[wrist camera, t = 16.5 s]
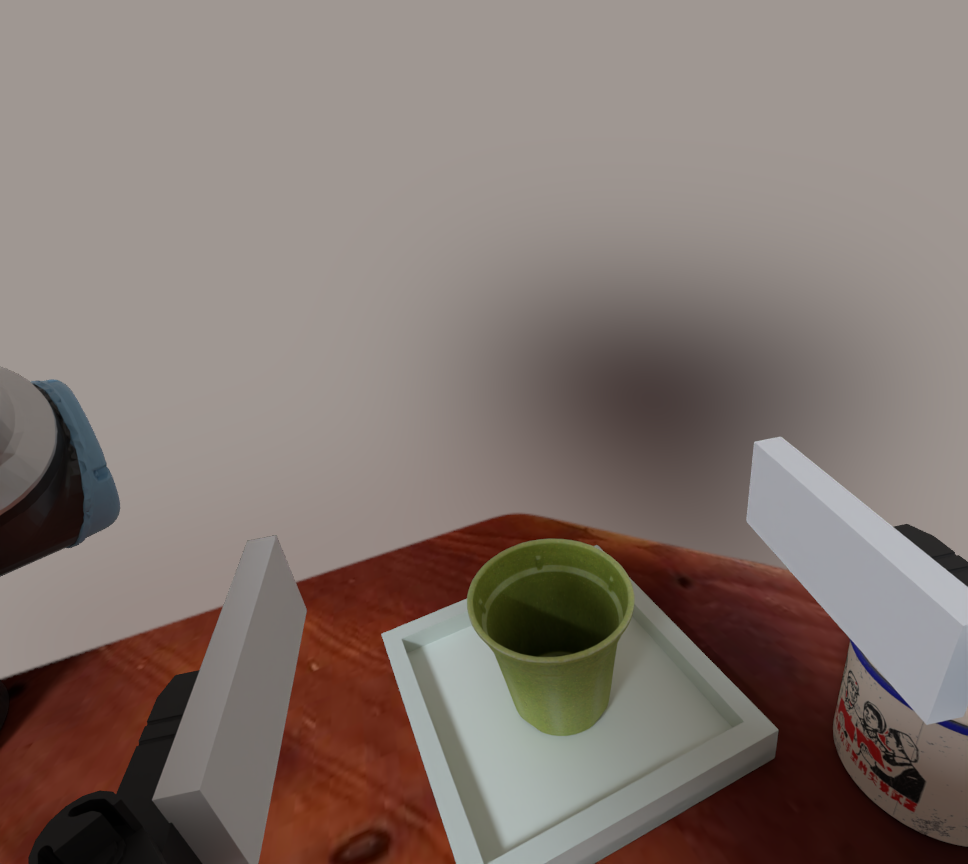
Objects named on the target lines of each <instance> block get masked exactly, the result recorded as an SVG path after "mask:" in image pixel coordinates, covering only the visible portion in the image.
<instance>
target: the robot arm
mask: <svg viewBox="0 0 968 864" xmlns="http://www.w3.org/2000/svg"><path fill="white" fill-rule="evenodd" d="M119 511H120V501H119V496H118V492H117V489H116V486H115V483H114V480H113V478H112V475H111V473H110V471H109V469H108V468H107V467H106V461H105V458H104V454H103V452H102V449H101V447H100V445H99V443H98V440H97V438H96V436H95V434H94V431H93V429H92V427H91V425H90V423H89V421H88V419H87V417H86V415H85V413H84V411H83V410H82V408H81V406H80V404H79V402H78V400H77V399H76V397H75V395H74V394H73V392H72V391H71V390H70V388H69V387H67V385H66V384H64V383H62V382H60V381H58V380H46V381H32V382H30V381H28V380H27V379H25V378H24V377H22V376H21V375H19V374H17V373H15V372H13V371H10V370H8V369H6V368H3V367H0V576H3V575H5V574H7V573H9V572H12V571H14V570H16V569H18V568H21V567H23V566H25V565H27V564H30V563H32V562H34V561H36V560H39V559H41V558H43V557H46V556H48V555H50V554H52V553H55V552H57V551H59V550H61V549H63V548H72V547H74V546H77V545H79V543H82V542H83V541H84V540H85V538H87V537H89V536H91V535H93V534H95V533H97V532H99V531H101V530H103V529H105V528H107V527H109V526H110V525H111V524H113V523H114V521H115V520H116V519H117V517H118V515H119ZM746 521H747V523H748V524H749V525H750V526H751V527H752V528H753V529H754V531H755V532H756V533H757V534H758V535H759V536H760V537H761V539H762V540H763V541H764V542H765V543H766V544H767V545H768V546H769V548H770V549H771V550H772V551H773V552H774V553H775V554H776V555H777V556H778V558H779V559H780V560H781V561H782V562H783V563H784V564H785V565H786V567H787V568H788V569H789V570H790V571H791V572H792V574H793V575H794V576H795V577H796V578H797V579H798V580H799V581H800V583H801V584H802V585H803V586H804V587H805V588H806V589H807V590H808V592H809V593H810V594H811V595H812V596H813V597H814V598H815V599H816V601H817V602H818V603H819V604H820V605H821V606H822V607H823V609H824V610H825V611H826V612H827V613H828V614H829V615H830V616H831V618H832V619H833V620H834V621H835V622H836V623H837V624H838V625H839V627H840V628H841V629H842V630H843V631H844V632H845V633H846V634H847V636H848V637H849V638H850V639H851V640H852V641H853V642H854V644H855V645H856V646H857V647H858V648H859V649H860V650H861V651H862V653H863V654H864V655H865V656H866V657H867V658H868V659H869V660H870V662H871V663H872V664H873V665H874V666H875V667H876V668H877V670H878V671H879V672H880V673H881V674H882V675H883V676H884V677H885V679H886V680H887V681H888V682H889V683H890V684H891V685H892V686H893V688H894V689H895V690H896V691H897V692H898V693H899V694H900V695H901V697H902V698H903V699H904V700H905V701H906V702H907V703H908V705H909V706H910V707H911V708H912V709H913V710H914V711H915V712H916V714H917V715H918V716H919V717H920V718H921V719H922V720H923V721H924V723H925V724H926V725H929V724H933V723H938V722H942V721H946V720H951V719H955V718H960V717H963V716H964V714H965V712H966V709H967V707H968V562H967V561H966V560H964V559H963V558H962V557H960V556H959V555H958V556H956V555H955V552H954V551H953V550H951V549H950V548H948V547H947V546H946V545H945V544H943V543H942V542H941V541H939V540H938V539H937V538H936V537H934V536H932V535H930V534H928V533H926V532H923V531H921V530H919V529H917V528H915V527H913V526H910V525H908V524H905V525H900V526H895V527H893V526H891V525H890V524H889V523H887V522H886V521H885V520H884V519H883V518H881V517H880V516H879V515H878V514H876V513H875V512H874V511H873V510H871V509H870V508H869V507H868V506H866V505H865V504H864V503H863V502H861V501H860V500H859V499H858V498H857V497H855V496H854V495H853V494H852V493H850V492H849V491H848V490H847V489H845V488H844V487H843V486H841V485H840V484H839V483H838V482H836V481H835V480H834V479H833V478H832V477H830V476H829V475H828V474H827V473H825V472H824V471H823V470H822V469H820V468H819V467H818V466H817V465H816V464H814V463H813V462H812V461H811V460H809V459H808V458H807V457H806V456H804V455H803V454H802V453H801V452H799V451H798V450H797V449H796V448H794V447H793V446H792V445H791V444H789V443H788V442H787V441H786V440H785V439H783V438H782V437H777V438H771V439H766V440H761V441H756V442H754V450H753V459H752V470H751V480H750V490H749V499H748V509H747V519H746ZM306 611H307V609H306V607H305V605H304V602H303V600H302V597H301V595H300V592H299V590H298V587H297V585H296V582H295V580H294V577H293V575H292V572H291V570H290V568H289V565H288V562H287V560H286V557H285V555H284V553H283V550H282V548H281V545H280V543H279V540H278V538H277V536H276V535H274V536H269V537H264V538H259V539H254V540H248V541H247V543H246V546H245V549H244V551H243V554H242V557H241V559H240V562H239V565H238V567H237V570H236V573H235V576H234V579H233V581H232V584H231V586H230V589H229V592H228V595H227V597H226V600H225V603H224V605H223V608H222V611H221V614H220V616H219V619H218V622H217V625H216V627H215V630H214V633H213V635H212V638H211V641H210V644H209V646H208V649H207V652H206V654H205V657H204V660H203V663H202V665H201V668H200V670H199V671H194V672H189V673H184V674H179V675H175V676H174V678H173V679H172V680H171V681H170V683H169V684H168V685H167V686H166V688H165V689H164V690H163V691H162V692H161V694H160V695H159V696H158V697H157V699H156V702H155V704H154V706H153V709H152V711H151V714H150V716H149V718H148V721H147V726H145V728H144V730H143V732H142V735H141V737H140V739H139V746H136V749H135V751H134V754H133V756H132V758H131V761H130V763H129V765H128V768H127V770H126V772H125V775H124V777H123V779H122V782H121V784H120V787H119V789H118V791H117V794H115V793H114V792H109V791H97V792H94V793H91V794H88V795H84V796H82V797H81V798H79V799H77V800H76V801H74V802H72V803H71V804H69V805H67V806H66V807H65V808H64V809H62V810H61V811H60V812H59V813H58V814H57V815H56V816H55V817H54V818H53V819H52V820H50V821H49V823H48V824H47V825H46V827H45V828H44V829H43V831H42V832H41V833H40V835H39V836H38V838H37V839H36V841H35V843H34V846H33V848H32V850H31V853H30V855H29V864H258V862H259V857H260V852H261V847H262V841H263V836H264V831H265V826H266V821H267V815H268V810H269V805H270V800H271V794H272V789H273V784H274V779H275V773H276V768H277V763H278V758H279V753H280V747H281V742H282V737H283V732H284V726H285V721H286V716H287V711H288V705H289V700H290V695H291V690H292V685H293V679H294V674H295V669H296V664H297V658H298V653H299V648H300V643H301V637H302V632H303V627H304V622H305V616H306ZM8 708H9V694H8V690H7V688H6V687H5V685H4V684H3V683H2V682H1V680H0V729H1V727H2V725H3V723H4V721H5V718H6V715H7V712H8Z"/></svg>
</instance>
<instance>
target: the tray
mask: <svg viewBox="0 0 968 864" xmlns="http://www.w3.org/2000/svg"><path fill="white" fill-rule="evenodd" d="M594 547H596V548H597V549H599V550H602V549H601V548H600V547H599V546H598V545H596V546H594ZM602 551H603V550H602ZM603 552H604V551H603ZM629 579H630V578H629ZM630 581H631V583H632V586H633V589H634V595H635V604H634V611H633V615H632V618H631V621H630V623H629V625H628V627H627V628H626V630H625V631H624V633H623V634H622V635H621V637H620V639H619V641H618V643H617V649H616V656H615V662H614V669H613V676H612V685H611V691H610V697H609V702H608V706H607V708H606V709H605V711H604V712H603V714H602V715H601V716H600V718H599V719H598V720H597V721H596V723H595V724H594V725H593V726H592V727H590V728H589V729H587V730H585V731H583V732H581V733H577V734H574V735H569V736H555V735H549V734H546V733H543V732H541V731H539V730H538V729H536V728H535V727H534V726H532V725H531V724H529V723H528V722H527V721H525V720H524V719H523V718H522V717H521V716H520V715H519V713H518V712H517V710H516V707H515V705H514V702H513V700H512V697H511V695H510V692H509V690H508V687H507V684H506V682H505V679H504V677H503V674H502V672H501V669H500V667H499V664H498V662H497V659H496V657H495V654H494V652H493V651H492V650H491V649H490V647H489V646H488V645H487V644H486V643H485V642H484V641H483V640H482V639H481V638H480V637H479V636H478V634H477V633H476V631H475V630H474V628H473V626H472V624H471V621H470V618H469V615H468V610H467V599H465V600H462V601H460V602H458V603H455V604H453V605H450V606H448V607H445V608H443V609H441V610H438V611H436V612H433V613H431V614H429V615H426V616H424V617H421V618H419V619H416V620H414V621H412V622H409V623H407V624H404V625H402V626H399V627H397V628H395V629H392V630H390V631H387V632H385V633H383V634H381V635H382V638H383V641H384V644H385V647H386V650H387V653H388V656H389V659H390V662H391V665H392V668H393V671H394V674H395V678H396V681H397V684H398V687H399V690H400V693H401V696H402V699H403V702H404V705H405V708H406V711H407V714H408V717H409V720H410V723H411V726H412V729H413V733H414V736H415V739H416V742H417V745H418V748H419V751H420V754H421V757H422V760H423V763H424V766H425V769H426V772H427V775H428V778H429V781H430V785H431V788H432V791H433V794H434V797H435V800H436V803H437V806H438V809H439V812H440V815H441V818H442V821H443V824H444V827H445V830H446V833H447V836H448V840H449V843H450V846H451V849H452V852H453V855H454V858H455V861H456V864H595V863H596V862H598V861H600V860H601V859H603V858H605V857H606V856H608V855H610V854H612V853H613V852H615V851H617V850H618V849H620V848H622V847H624V846H625V845H627V844H629V843H630V842H632V841H634V840H636V839H637V838H639V837H641V836H642V835H644V834H646V833H647V832H649V831H651V830H653V829H654V828H656V827H658V826H659V825H661V824H663V823H665V822H666V821H668V820H670V819H671V818H673V817H675V816H677V815H678V814H680V813H682V812H683V811H685V810H687V809H688V808H690V807H692V806H694V805H695V804H697V803H699V802H700V801H702V800H704V799H706V798H707V797H709V796H711V795H712V794H714V793H716V792H718V791H719V790H721V789H723V788H724V787H726V786H728V785H729V784H731V783H733V782H735V781H736V780H738V779H740V778H741V777H743V776H745V775H747V774H748V773H750V772H752V771H753V770H755V769H757V768H759V767H760V766H762V765H764V764H765V763H767V762H769V761H770V760H772V759H774V758H775V753H776V746H777V739H778V731H779V730H778V729H777V728H776V727H775V726H774V724H773V723H772V722H771V721H770V720H769V719H768V718H767V717H766V716H765V715H764V714H763V713H762V712H761V711H760V710H759V709H758V708H757V707H756V706H755V705H754V704H753V703H752V702H751V701H750V700H749V699H748V698H747V697H746V696H745V695H744V694H743V693H742V692H741V691H740V690H739V689H738V688H737V687H736V686H735V685H734V684H733V683H732V682H731V681H730V680H729V679H728V678H727V677H726V676H725V675H724V674H723V672H722V671H721V670H720V669H719V668H718V667H717V666H716V665H715V664H714V663H713V662H712V661H711V660H710V659H709V658H708V657H707V656H706V655H705V654H704V653H703V652H702V651H701V650H700V649H699V648H698V647H697V646H696V645H695V644H694V643H693V642H692V641H691V640H690V639H689V638H688V637H687V636H686V635H685V634H684V633H683V632H682V631H681V630H680V629H679V628H678V627H677V626H676V625H675V624H674V623H673V622H672V620H671V619H670V618H669V617H668V616H667V615H666V614H665V613H664V612H663V611H662V610H661V609H660V608H659V607H658V606H657V605H656V604H655V603H654V602H653V601H652V600H651V599H650V598H649V597H648V596H647V595H646V594H645V593H644V592H643V591H642V590H641V589H640V588H639V587H638V586H637V585H636V584H635V583H634V582H633V581H632V580H631V579H630Z"/></svg>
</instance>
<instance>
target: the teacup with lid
mask: <svg viewBox="0 0 968 864" xmlns="http://www.w3.org/2000/svg"><path fill="white" fill-rule="evenodd" d="M833 736H834V742H835V746H836V749H837V752H838V755H839V757H840V759H841V761H842V763H843V765H844V767H845V768H846V770H847V772H848V773H849V775H850V776H851V777H852V779H853V780H854V782H855V783H856V784H857V785H858V786H859V788H860V789H861V790H862V791H863V792H864V793H865V794H866V795H867V796H868V797H869V798H870V799H871V800H872V801H873V802H874V803H875V804H877V805H878V806H879V807H880V808H882V809H883V810H884V811H885V812H887V813H888V814H889V815H891V816H892V817H894V818H895V819H897V820H898V821H900V822H901V823H903V824H905V825H907V826H908V827H910V828H912V829H914V830H916V831H918V832H920V833H922V834H924V835H927V836H929V837H932V838H934V839H937V840H940V841H943V842H947V843H951V844H955V845H960V846H966V847H968V707H967V709H966V712H965V714H964V716H963V717H960V718H955V719H951V720H946V721H942V722H938V723H933V724H929V725H926V724H925V723H924V721H923V720H922V719H921V718H920V717H919V716H918V715H917V714H916V712H915V711H914V710H913V709H912V708H911V707H910V706H909V705H908V703H907V702H906V701H905V700H904V699H903V698H902V697H901V695H900V694H899V693H898V692H897V691H896V690H895V689H894V688H893V686H892V685H891V684H890V683H889V682H888V681H887V680H886V679H885V677H884V676H883V675H882V674H881V673H880V672H879V671H878V670H877V668H876V667H875V666H874V665H873V664H872V663H871V662H870V660H869V659H868V658H867V657H866V656H865V655H864V654H863V653H862V651H861V650H860V649H859V648H858V647H857V646H856V645H855V644H854V642H853V641H852V640H851V639H850V645H849V649H848V654H847V659H846V664H845V668H844V673H843V678H842V683H841V688H840V692H839V697H838V702H837V707H836V711H835V716H834V722H833Z"/></svg>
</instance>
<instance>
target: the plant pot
mask: <svg viewBox="0 0 968 864" xmlns="http://www.w3.org/2000/svg"><path fill="white" fill-rule="evenodd" d="M634 604H635V595H634V589H633V586H632V583H631V581H630V579H629V576H628V575H627V573H626V571H625V570H624V569H623V567H622V566H621V565H620V564H619V563H618V562H617V561H616V560H614V559H613V558H612V557H611V556H609V555H608V554H607V553H605V552H603V551H602V550H599V549H597V548H596V547H594V546H591V545H588V544H585V543H582V542H578V541H573V540H566V539H540V540H534V541H528V542H525V543H521V544H518V545H516V546H513V547H511V548H508V549H507V550H505V551H502V552H501V553H499V554H498V555H496V556H495V557H493V558H492V559H490V560H489V561H488V562H487V563H486V564H485V565H484V566H483V567H482V568H481V569H480V570H479V571H478V573H477V574H476V575H475V577H474V579H473V581H472V583H471V585H470V588H469V591H468V595H467V610H468V615H469V618H470V621H471V624H472V626H473V628H474V630H475V631H476V633H477V634H478V636H479V637H480V638H481V639H482V640H483V641H484V642H485V643H486V644H487V645H488V646H489V647H490V649H491V650H492V651H493V652H494V654H495V657H496V659H497V662H498V664H499V667H500V669H501V672H502V674H503V677H504V679H505V682H506V684H507V687H508V690H509V692H510V695H511V697H512V700H513V702H514V705H515V707H516V710H517V712H518V713H519V715H520V716H521V717H522V718H523V719H524V720H525V721H527V722H528V723H529V724H531V725H532V726H534V727H535V728H536V729H538V730H539V731H541V732H543V733H546V734H549V735H555V736H569V735H574V734H577V733H581V732H583V731H585V730H587V729H589V728H590V727H592V726H593V725H594V724H595V723H596V721H597V720H598V719H599V718H600V716H601V715H602V714H603V712H604V711H605V709H606V708H607V706H608V702H609V697H610V691H611V685H612V676H613V669H614V662H615V656H616V649H617V643H618V641H619V639H620V637H621V635H622V634H623V633H624V631H625V630H626V628H627V627H628V625H629V623H630V621H631V618H632V615H633V611H634Z"/></svg>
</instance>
